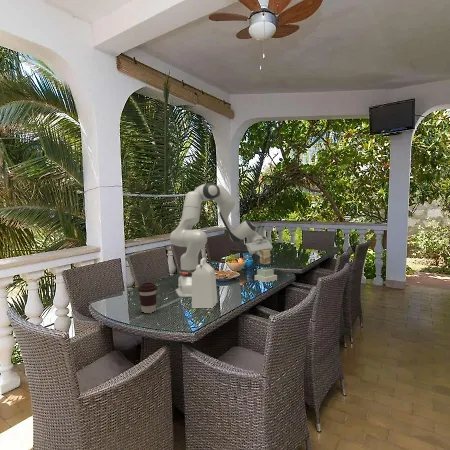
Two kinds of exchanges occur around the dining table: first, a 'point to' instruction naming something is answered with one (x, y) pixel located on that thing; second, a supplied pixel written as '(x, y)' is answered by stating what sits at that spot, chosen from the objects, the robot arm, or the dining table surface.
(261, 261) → the beech pillar
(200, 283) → the milk
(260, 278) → the tower base slab
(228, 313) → the dining table surface
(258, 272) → the tower top block
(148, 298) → the coffee cup
